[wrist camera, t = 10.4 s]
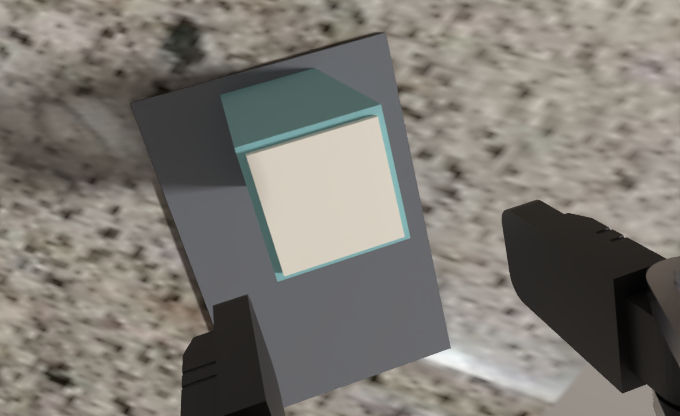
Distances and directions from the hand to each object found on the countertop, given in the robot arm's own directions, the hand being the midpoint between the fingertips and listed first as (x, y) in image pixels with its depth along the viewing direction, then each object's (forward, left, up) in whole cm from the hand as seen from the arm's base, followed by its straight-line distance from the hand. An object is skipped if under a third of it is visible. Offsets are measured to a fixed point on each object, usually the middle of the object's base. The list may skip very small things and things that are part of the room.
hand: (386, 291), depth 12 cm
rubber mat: (+6, 0, -17) cm, 18 cm away
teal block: (0, 0, -17) cm, 17 cm away
